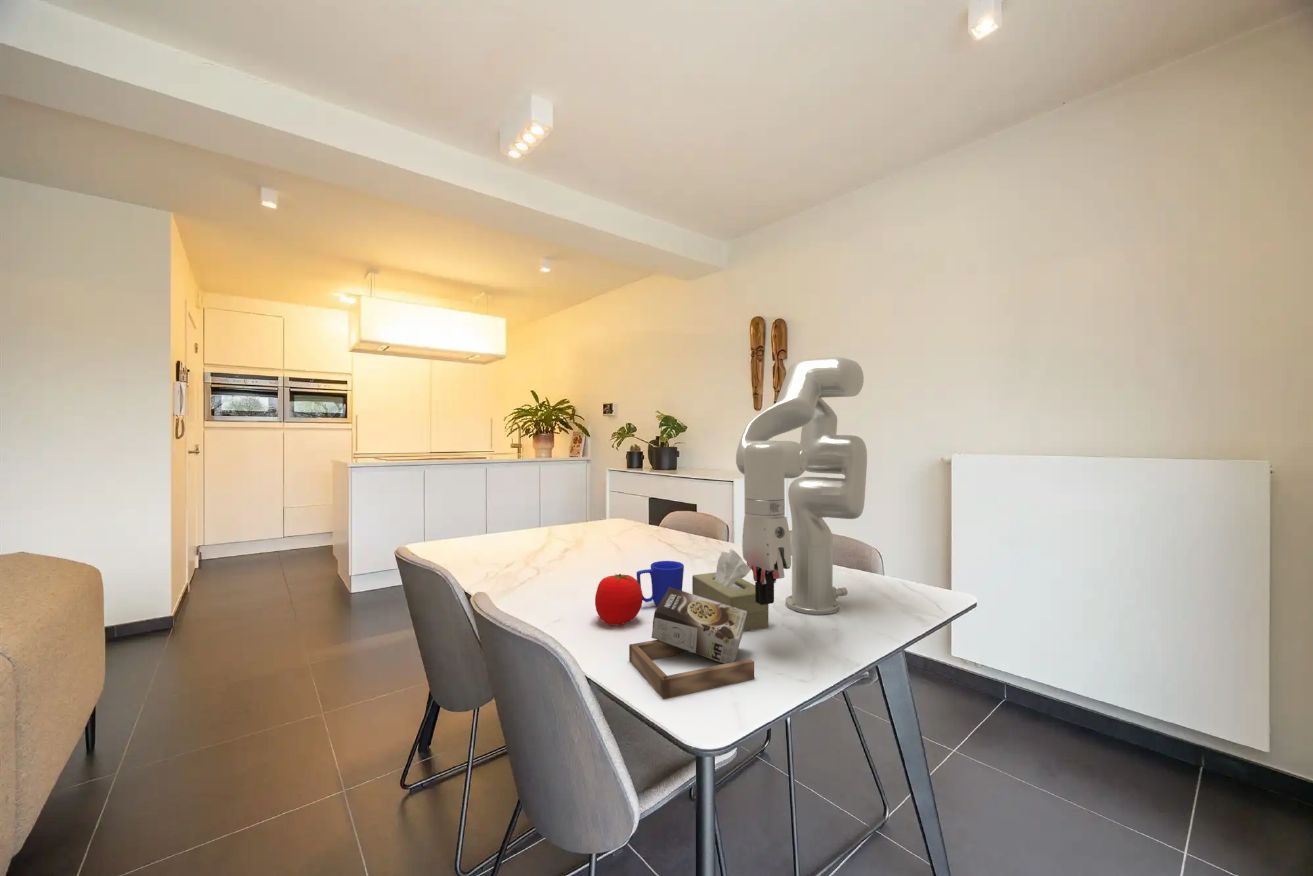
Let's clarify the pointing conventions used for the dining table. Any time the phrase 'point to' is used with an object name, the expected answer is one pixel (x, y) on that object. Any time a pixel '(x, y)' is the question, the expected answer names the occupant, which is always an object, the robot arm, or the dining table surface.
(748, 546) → the robot arm
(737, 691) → the dining table surface
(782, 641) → the dining table surface
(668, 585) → the mug
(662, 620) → the coffee box
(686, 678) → the u rest
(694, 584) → the tissue box
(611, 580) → the tomato
